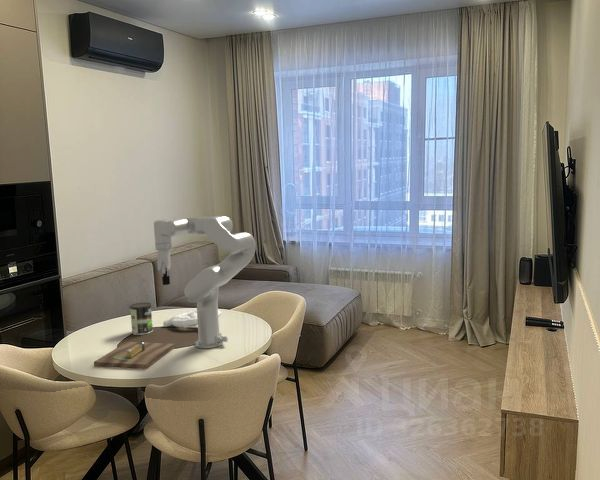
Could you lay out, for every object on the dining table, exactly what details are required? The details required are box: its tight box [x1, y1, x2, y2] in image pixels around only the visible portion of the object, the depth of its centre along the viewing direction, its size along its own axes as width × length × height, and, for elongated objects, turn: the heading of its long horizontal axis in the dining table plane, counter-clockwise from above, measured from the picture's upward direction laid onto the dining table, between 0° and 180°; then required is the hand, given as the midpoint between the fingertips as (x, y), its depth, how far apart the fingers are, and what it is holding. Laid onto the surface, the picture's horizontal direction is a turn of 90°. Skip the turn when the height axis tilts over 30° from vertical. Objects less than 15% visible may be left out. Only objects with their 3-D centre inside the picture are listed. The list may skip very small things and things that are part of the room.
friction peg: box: [127, 341, 146, 358], centre depth 229 cm, size 12×3×4 cm, turn 169°
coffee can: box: [129, 302, 154, 336], centre depth 267 cm, size 10×10×14 cm
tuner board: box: [93, 341, 176, 370], centre depth 231 cm, size 24×26×2 cm
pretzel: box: [162, 309, 222, 327], centre depth 278 cm, size 28×24×6 cm
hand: (166, 284), depth 251 cm, fingers closed
